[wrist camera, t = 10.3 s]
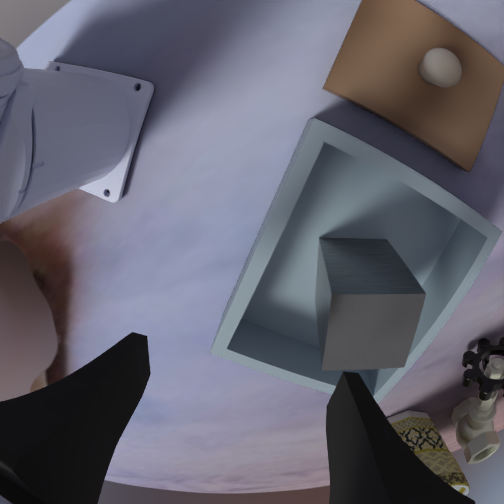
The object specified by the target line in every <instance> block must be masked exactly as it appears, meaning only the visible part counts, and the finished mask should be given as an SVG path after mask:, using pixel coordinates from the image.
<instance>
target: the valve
mask: <svg viewBox="0 0 504 504" xmlns="http://www.w3.org/2000/svg"><path fill="white" fill-rule="evenodd" d="M477 352H479V353H477V354H475V353H474V352H473V351H467V352H465V353H464V355H463V360H462V365H463V366H464V367H465V368H466V367H467V364H470V365H472V369H468V370H466V371H465V372H464V374H463V378H462V384H463V386H465V387H471V384H472V382H474V381H477V382H478V383H479V384H480V386H479V394H478V397H469V398H467V399H466V400H464V401H463V402H461V403H460V404H458V405H457V406H456V407H454V409H453V412H452V416H451V419H452V422H453V424H454V427H455V428H456V439H457V441H458V443H459V445H460V446H461V447H462V448H464V449H465V450H464V456H465V459H466V462H467V464H475V463H478V462H481V461H483V460H485V459H486V458H488V457H490V456H491V455H492V454H493V453H494V452H495V451H496V450H497V449H498V447H499V445H500V440H499V438H498V435H497V433H496V431H494V423H493V418H494V416H495V414H496V404H495V403H494V402H495V400H496V397H497V394H498V391H497V390H499V389H504V360H503V359H501V358H492V359H491V360H490V362H489V357H490V355H495V354H496V355H502V356H504V337H502V338H501V339H500V341H499V345H496V346H492V345H490V341H489V340H488V339H486V338H484V339H481V340H479V342H478V347H477ZM481 360H482V364H483V369H484V374H483V373H482V372H481V370H480V368H479V363H480V362H481ZM503 397H504V395H503Z"/></svg>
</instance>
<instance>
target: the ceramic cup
mask: <svg viewBox="0 0 504 504" xmlns="http://www.w3.org/2000/svg"><path fill="white" fill-rule="evenodd" d="M387 419H388V421H389V422H390V424H391V425H392V427H393V428H394V429H395V431H396V432H397V433H398V435H399V436H400V437H401V438H402V440H403V441H404V442H405V443H406V445H407V446H408V447H409V448H410V449H411V450H412V451H413V452H414V454H415V455H416V456H417V457H418V458H419V459H420V460H421V461H422V462H423V463H424V464H425V465H426V466H427V467H428V468H430V469H431V470H432V471H433V472H434V473H435V474H436V475H437V476H439V477H440V478H441V479H442V480H444V481H445V482H446V483H448V484H449V485H450V486H452V487H453V488H454V489H456V490H457V491H459V492H461V493H462V494H464V495H465V496H466V495H467V493H468V492H469V490H470V487H469V484H468V482H467V480H466V478H465V476H464V474H463V472H462V470H461V468H460V466H459V465H458V463H457V461H456V460H455V458H454V457H453V455H452V454H451V453H450V451H449V450H448V448H447V446H446V444H445V442H444V441H443V439H442V437H441V435H440V434H439V432H438V430H437V429H436V427H435V425H434V423H433V421H432V420H431V418H430V417H429V415H428V414H427V413H426V412H417V411H409V410H407V411H404V412H402V413H399V414H396V415H394V416H391V417H388V418H387Z"/></svg>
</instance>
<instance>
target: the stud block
mask: <svg viewBox="0 0 504 504" xmlns="http://www.w3.org/2000/svg"><path fill="white" fill-rule="evenodd" d="M503 82H504V66H503V65H502V64H501V63H500V62H499V61H498V60H497V59H495V58H494V57H493V56H492V55H491V54H490V53H488V52H487V51H486V50H485V49H484V48H482V47H481V46H480V45H479V44H477V43H476V42H475V41H474V40H472V39H471V38H470V37H468V36H467V35H466V34H464V33H463V32H462V31H460V30H459V29H458V28H456V27H455V26H453V25H452V24H451V23H449V22H448V21H446V20H445V19H443V18H442V17H440V16H439V15H437V14H436V13H434V12H433V11H431V10H430V9H428V8H426V7H425V6H423V5H421V4H420V3H418V2H416V1H415V0H362V1H361V3H360V5H359V8H358V10H357V12H356V14H355V17H354V19H353V21H352V23H351V26H350V28H349V30H348V32H347V35H346V37H345V39H344V41H343V44H342V46H341V48H340V50H339V53H338V55H337V57H336V59H335V62H334V64H333V66H332V68H331V71H330V73H329V75H328V77H327V80H326V82H325V84H324V86H323V89H324V90H326V91H328V92H331V93H333V94H335V95H337V96H339V97H341V98H343V99H345V100H347V101H349V102H351V103H353V104H355V105H357V106H359V107H361V108H363V109H365V110H367V111H369V112H371V113H373V114H374V115H376V116H378V117H380V118H382V119H384V120H385V121H387V122H389V123H391V124H392V125H394V126H396V127H398V128H399V129H401V130H403V131H404V132H406V133H408V134H409V135H411V136H413V137H414V138H416V139H417V140H419V141H421V142H422V143H424V144H425V145H427V146H428V147H430V148H431V149H433V150H435V151H436V152H437V153H439V154H440V155H442V156H443V157H445V158H446V159H448V160H449V161H451V162H452V163H453V164H455V165H456V166H458V167H459V168H460V169H462V170H464V171H467V172H470V171H471V169H472V167H473V164H474V162H475V160H476V157H477V155H478V153H479V150H480V148H481V145H482V143H483V140H484V138H485V135H486V132H487V130H488V127H489V124H490V122H491V119H492V116H493V113H494V110H495V107H496V104H497V101H498V98H499V95H500V92H501V89H502V85H503Z"/></svg>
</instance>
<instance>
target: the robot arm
mask: <svg viewBox="0 0 504 504" xmlns="http://www.w3.org/2000/svg"><path fill="white" fill-rule="evenodd" d="M59 67H60V70H59V71H58V69H59ZM138 84H141V89H140V90H139V91H137V89H136V87H137V85H138ZM153 92H154V85H153V84H152V83H151V82H148V81H145V80H141V79H137V78H133V77H129V76H125V75H120V74H116V73H112V72H107V71H102V70H97V69H93V68H87V67H82V66H77V65H71V64H65V63H59V62H52V61H50V62H48V63H47V64H46V65H45V67H44V70H42V69H28V68H24V66H23V64H22V62H21V60H20V58H19V55H18V52H17V50H16V49H15V47H14V46H12V45H11V44H10V43H8V42H7V41H5V40H3V39H1V38H0V223H2V222H4V221H6V220H8V219H10V218H12V217H14V216H16V215H18V214H20V213H22V212H25V211H27V210H29V209H31V208H33V207H35V206H37V205H40V204H42V203H44V202H46V201H49V200H51V199H53V198H56V197H58V196H60V195H63V194H65V193H67V192H70V191H72V190H75V189H77V188H79V189H81V190H84V191H86V192H88V193H91V194H93V195H95V196H98V197H100V198H102V199H105V200H107V201H109V202H112V203H116V202H118V201H120V200H121V198H122V194H123V190H124V186H125V182H126V178H127V175H128V171H129V167H130V163H131V160H132V156H133V153H134V150H135V146H136V143H137V140H138V136H139V133H140V130H141V127H142V124H143V121H144V118H145V115H146V112H147V109H148V106H149V103H150V100H151V97H152V95H153ZM107 189H108V190H109V191H110V195H108V194H107ZM149 377H150V364H149V353H148V341H147V336H145V335H141V334H137V333H134V332H132V333H130V334H129V335H128V336H126V337H125V338H123V339H122V340H121V341H119V342H118V343H116V344H115V345H114V346H112V347H111V348H110V349H108V350H107V351H105V352H104V353H103V354H101V355H100V356H98V357H97V358H95V359H94V360H92V361H91V362H90V363H88V364H86V365H85V366H83V367H82V368H80V369H78V370H77V371H75V372H74V373H72V374H70V375H68V376H67V377H65V378H63V379H61V380H59V381H57V382H55V383H53V384H51V385H49V386H47V387H44V388H42V389H39V390H37V391H34V392H31V393H29V394H26V395H23V396H20V397H17V398H13V399H10V400H6V401H1V402H0V504H97V503H98V500H99V496H100V493H101V489H102V485H103V482H104V479H105V476H106V473H107V470H108V467H109V464H110V461H111V459H112V456H113V453H114V450H115V448H116V445H117V443H118V441H119V439H120V437H121V435H122V433H123V431H124V429H125V428H126V426H127V424H128V422H129V420H130V418H131V416H132V414H133V413H134V411H135V409H136V407H137V405H138V403H139V401H140V399H141V397H142V395H143V393H144V390H145V388H146V385H147V382H148V379H149ZM326 436H327V448H328V459H329V471H330V500H329V504H475V501H474V500H472V499H470V498H468V497H467V496H465V495H464V494H462V493H461V492H459V491H457V490H456V489H454V488H453V487H452V486H450V485H449V484H448V483H446V482H445V481H444V480H442V479H441V478H440V477H439V476H437V475H436V474H435V473H434V472H433V471H432V470H431V469H430V468H428V467H427V466H426V465H425V464H424V463H423V462H422V461H421V460H420V459H419V458H418V457H417V456H416V455H415V454H414V452H413V451H412V450H411V449H410V448H409V447H408V446H407V445H406V443H405V442H404V441H403V440H402V438H401V437H400V436H399V435H398V433H397V432H396V431H395V429H394V428H393V427H392V425H391V424H390V422H389V421H388V419H387V418H386V416H385V415H384V413H383V412H382V410H381V409H380V407H379V406H378V404H377V402H376V401H375V399H374V397H373V396H372V394H371V393H370V391H369V389H368V388H367V386H366V384H365V383H364V381H363V379H362V378H361V376H360V374H359V373H356V372H345V371H343V372H342V375H341V377H340V379H339V381H338V383H337V386H336V388H335V390H334V392H333V394H332V396H331V398H330V401H329V403H328V405H327V414H326Z"/></svg>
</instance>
